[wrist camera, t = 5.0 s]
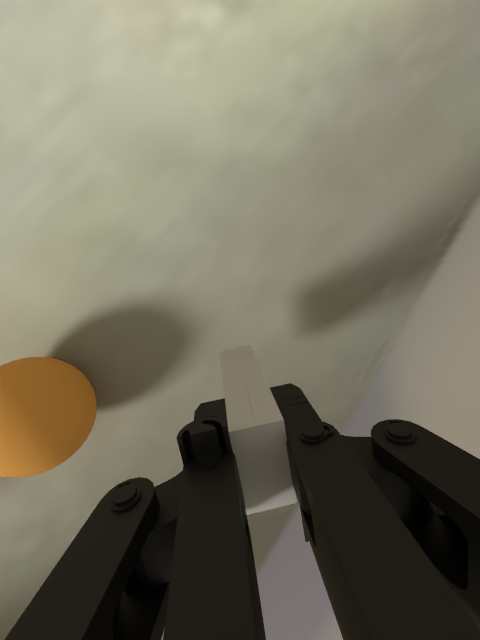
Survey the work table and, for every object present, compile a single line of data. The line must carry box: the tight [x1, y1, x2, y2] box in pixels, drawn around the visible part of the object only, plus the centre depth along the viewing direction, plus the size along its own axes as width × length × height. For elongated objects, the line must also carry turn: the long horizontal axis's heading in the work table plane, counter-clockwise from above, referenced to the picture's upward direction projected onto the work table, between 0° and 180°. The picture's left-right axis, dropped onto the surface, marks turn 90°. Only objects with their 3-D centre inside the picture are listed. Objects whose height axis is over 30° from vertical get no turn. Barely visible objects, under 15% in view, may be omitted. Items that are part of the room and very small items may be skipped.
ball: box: [0, 357, 97, 477], centre depth 15 cm, size 6×6×6 cm
